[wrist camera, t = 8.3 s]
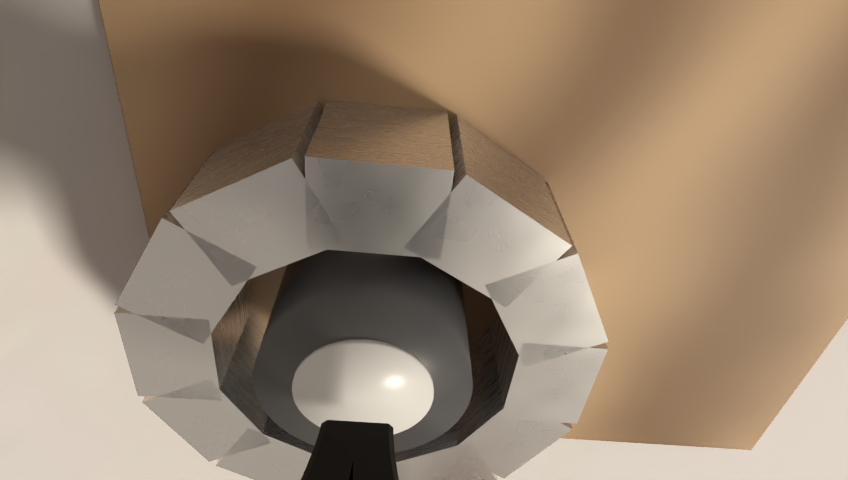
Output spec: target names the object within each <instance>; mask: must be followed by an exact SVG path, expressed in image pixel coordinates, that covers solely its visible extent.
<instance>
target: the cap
mask: <svg viewBox="0 0 848 480" xmlns="http://www.w3.org/2000/svg"><path fill="white" fill-rule="evenodd" d="M253 386H254V391H255V394H256V397H257V399H258V401H259V403H260V405H261V407H262V408H263V410H264V411H265V412H266V414H267V415H268V416H269V417H270V418H271V419H272V420H273V421H274V422H275V423H276V424H277V425H278V426H279V427H281V428H282V429H283V430H285V431H286V432H288V433H289V434H291V435H293V436H294V437H296V438H298V439H300V440H302V441H304V442H307V443H309V444H311V445H314V446H315V443H316V440H317V437H318V434H319V431H320V427H321V424H322V423H323V422H325V421H326V420H338V421H355V422H371V423H388V424H390V425H391V426H392V427H393V434H394V448H395V452H400V451H405V450H409V449H412V448H415V447H418V446H421V445H423V444H426V443H428V442H430V441H432V440H434V439H436V438H437V437H439V436H441V435H443V434H444V433H445V432H446V431H448V430H449V429H450V428H452V427H453V426H454V425H455V424H456V423H457V422H458V421H459V419H460V418H461V417H462V415H463V414H464V413H465V411H466V409H467V407H468V405H469V402H470V399H471V396H472V389H473V380H472V370H471V361H470V352H469V343H468V334H467V325H466V316H465V308H464V299H463V290H462V281H460V280H458V279H457V278H455V277H453V276H452V275H450V274H448V273H446V272H445V271H443V270H441V269H440V268H438V267H436V266H435V265H433V264H431V263H429V262H428V261H426V260H424V259H423V258H421V257H411V256H399V255H387V254H375V253H363V252H351V251H339V250H324V251H322V252H319V253H317V254H314V255H311V256H309V257H306V258H304V259H301V260H298V261H296V262H293V263H291V264H288V265H287V266H286V269H285V272H284V275H283V278H282V281H281V285H280V288H279V291H278V294H277V297H276V300H275V303H274V306H273V309H272V312H271V315H270V318H269V321H268V324H267V327H266V330H265V333H264V336H263V339H262V342H261V345H260V348H259V351H258V354H257V357H256V360H255V363H254V369H253Z"/></svg>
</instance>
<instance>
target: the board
mask: <svg viewBox="0 0 848 480" xmlns="http://www.w3.org/2000/svg"><path fill="white" fill-rule="evenodd" d="M99 5H100V9H101V14H102V19H103V23H104V28H105V33H106V37H107V42H108V47H109V51H110V56H111V61H112V66H113V70H114V75H115V80H116V84H117V89H118V94H119V98H120V103H121V108H122V112H123V117H124V122H125V126H126V131H127V136H128V140H129V145H130V150H131V154H132V159H133V164H134V168H135V173H136V178H137V182H138V187H139V192H140V196H141V201H142V206H143V210H144V215H145V220H146V224H147V229H148V234H149V238H150V239H151V237H152V235H153V233H154V232H155V230H156V228H157V226H158V224H159V222H160V220H161V218H162V217H163V216H164V214H165V213H166V212H167V210H168V209H169V208H170V206H171V205H172V204H173V203H174V201H175V200H176V199H177V197H178V196H179V195H180V193H181V192H182V191H183V189H184V188H185V187H186V185H187V184H188V183H189V181H190V180H191V179H192V178H193V176H194V175H195V174H196V172H197V171H198V170H199V168H200V167H201V166H202V164H203V163H204V162H205V160H206V159H207V158H208V156H209V155H210V154H211V153H212V152H213V153H214V151H215V150H216V149H217V147H218V146H219V145H222V144H224V143H226V142H228V141H230V140H233V139H235V138H237V137H239V136H241V135H244V134H246V133H248V132H250V131H252V130H255V129H257V128H259V127H261V126H263V125H266V124H268V123H270V122H272V121H274V120H277V119H279V118H281V117H283V116H285V115H288V114H290V113H292V112H294V111H296V110H299V109H301V108H303V107H305V106H307V105H310V104H312V103H314V102H316V101H318V102H319V103H320V105H321V107H322V109H323V110H324V108H325V106H326V104H327V101H328V99H333V100H343V101H353V102H362V103H372V104H382V105H392V106H402V107H412V108H421V109H431V110H441V111H447V113H448V121H449V124H450V123H451V122H452V120H453V119H454V118H455V117H456V115H458V116H459V117H461V118H462V119H464V120H465V121H466V122H468V123H469V124H471V125H472V126H473V127H475V128H476V129H478V130H479V131H480V132H482V133H483V134H484V135H486V136H487V137H489V138H490V139H491V140H493V141H494V142H496V143H497V144H498V145H500V146H501V147H503V148H504V149H505V150H507V151H508V152H510V153H511V154H512V155H514V156H515V157H517V158H518V159H519V160H521V161H522V162H524V163H525V164H526V165H528V166H529V167H531V168H532V169H533V170H535V171H536V172H537V173H539V174H540V175H542V176H543V177H544V180H545V182H546V184H549V186H550V188H551V191H552V193H553V195H554V198H555V200H556V203H557V205H558V207H559V210H560V212H561V214H562V217H563V219H564V221H565V224H566V226H567V229H568V231H569V233H570V236H571V238H572V240H573V243H574V245H575V247H576V250H577V252H578V255H579V258H580V260H581V263H582V266H583V269H584V272H585V275H586V278H587V281H588V284H589V287H590V289H591V292H592V295H593V298H594V301H595V304H596V307H597V310H598V313H599V316H600V318H601V321H602V324H603V327H604V330H605V333H606V336H607V339H608V342H606V345H607V348H608V351H607V353H606V355H605V358H604V360H603V363H602V365H601V367H600V370H599V372H598V375H597V377H596V379H595V382H594V384H593V386H592V389H591V391H590V394H589V396H588V398H587V401H586V403H585V406H584V408H583V410H582V413H581V415H580V418H579V420H578V422H577V424H574V423H571V426H572V430H570V431H569V432H568V433H566V434H565V435H563V436H562V437H561V438H567V439H584V440H600V441H616V442H632V443H648V444H664V445H680V446H696V447H713V448H729V449H745V450H751V449H752V448H753V447H754V445H755V444H756V443H757V441H758V440H759V439H760V437H761V436H762V434H763V433H764V432H765V430H766V429H767V428H768V426H769V425H770V424H771V422H772V421H773V419H774V418H775V417H776V415H777V414H778V413H779V411H780V410H781V409H782V407H783V406H784V404H785V403H786V402H787V400H788V399H789V398H790V396H791V395H792V394H793V392H794V391H795V389H796V388H797V387H798V385H799V384H800V383H801V381H802V380H803V379H804V377H805V376H806V375H807V373H808V372H809V370H810V369H811V368H812V366H813V365H814V364H815V362H816V361H817V360H818V358H819V357H820V355H821V354H822V353H823V351H824V350H825V349H826V347H827V346H828V345H829V343H830V342H831V340H832V339H833V338H834V336H835V335H836V334H837V332H838V331H839V330H840V328H841V327H842V325H843V324H844V323H845V321H846V320H847V319H848V0H99ZM286 266H287V265H285V266H283V267H280V268H277V269H275V270H272V271H270V272H267V273H264V274H262V275H259V276H257V277H254V278H251V279H249V284H250V295H251V305H252V309H253V310H254V311H255V312H256V314H257V315H258V316H259V317H260V318H261V320H262V321H263V322H264V323H265V324H266V326H267V324H268V321H269V318H270V315H271V312H272V309H273V306H274V303H275V300H276V297H277V294H278V291H279V288H280V285H281V281H282V278H283V275H284V272H285V269H286ZM462 290H463V299H464V308H465V316H466V325H467V334H468V343H469V345H470V344H471V343H472V342H474V341H475V340H476V339H477V338H478V337H479V336H480V335H481V334H482V333H483V332H484V331H485V330H486V329H487V328H489V327H490V326H491V322H492V317H493V313H494V309H495V305H494V303H493V301H492V299H491V298H489V297H487V296H486V295H484V294H482V293H481V292H479V291H477V290H475V289H474V288H472V287H470V286H469V285H467V284H465V283H463V282H462Z"/></svg>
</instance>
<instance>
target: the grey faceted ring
mask: <svg viewBox="0 0 848 480" xmlns="http://www.w3.org/2000/svg"><path fill="white" fill-rule="evenodd" d="M324 250H339V251H351V252H363V253H375V254H387V255H399V256H411V257H421V258H423V259H424V260H426V261H428V262H429V263H431V264H433V265H435V266H436V267H438V268H440V269H441V270H443V271H445V272H446V273H448V274H450V275H452V276H453V277H455V278H457V279H458V280H460V281H462V282H463V283H465V284H467V285H469V286H470V287H472V288H474V289H475V290H477V291H479V292H481V293H482V294H484V295H486V296H487V297H489V298H491V299H492V301H493V303H494V305H495V309H494V313H493V317H492V322H491V326H490V327H489V328H487V329H486V330H485V331H484V332H483V333H482V334H481V335H480V336H479V337H478V338H477V339H476V340H475V341H474V342H472V343H471V344H470V345H469V352H470V361H471V370H472V380H473V389H472V396H471V399H470V402H469V405H468V407H467V409H466V411H465V413H464V414H463V415H462V417H461V418H460V419H459V421H458V422H457V423H456V424H455V425H454V426H453V427H452V428H450V429H449V430H448V431H446V432H445V433H444V434H443V435H441V436H439V437H437V438H436V439H434V440H432V441H430V442H428V443H426V444H423V445H421V446H418V447H415V448H412V449H409V450H405V451H400V452H395V458H396V465H397V471H398V477H399V480H497V476H496V475H498V476H500V477H503V478H505V477H506V476H508V475H509V474H511V473H512V472H513V471H515V470H516V469H518V468H519V467H520V466H522V465H523V464H525V463H526V462H527V461H529V460H530V459H531V458H533V457H534V456H536V455H537V454H538V453H540V452H541V451H543V450H544V449H545V448H547V447H548V446H550V445H551V444H552V443H554V442H555V441H556V440H558V439H559V438H561V437H562V436H563V435H565V434H566V433H568V432H569V431H570V430H572V426H571V423H574V424H577V422H578V420H579V418H580V415H581V413H582V410H583V408H584V406H585V403H586V401H587V398H588V396H589V394H590V391H591V389H592V386H593V384H594V382H595V379H596V377H597V375H598V372H599V370H600V367H601V365H602V363H603V360H604V358H605V355H606V353H607V351H608V348H607V345H606V342H608V339H607V336H606V333H605V330H604V327H603V324H602V321H601V318H600V316H599V313H598V310H597V307H596V304H595V301H594V298H593V295H592V292H591V289H590V287H589V284H588V281H587V278H586V275H585V272H584V269H583V266H582V263H581V260H580V258H579V255H578V252H577V250H576V247H575V245H574V243H573V240H572V238H571V236H570V233H569V231H568V229H567V226H566V224H565V221H564V219H563V217H562V214H561V212H560V210H559V207H558V205H557V203H556V200H555V198H554V195H553V193H552V191H551V188H550V186H549V184H546V182H545V180H544V177H543V176H542V175H540V174H539V173H537V172H536V171H535V170H533V169H532V168H531V167H529V166H528V165H526V164H525V163H524V162H522V161H521V160H519V159H518V158H517V157H515V156H514V155H512V154H511V153H510V152H508V151H507V150H505V149H504V148H503V147H501V146H500V145H498V144H497V143H496V142H494V141H493V140H491V139H490V138H489V137H487V136H486V135H484V134H483V133H482V132H480V131H479V130H478V129H476V128H475V127H473V126H472V125H471V124H469V123H468V122H466V121H465V120H464V119H462V118H461V117H459V116H458V115H456V117H455V118H454V119H453V120H452V122H451V123H450V124H449V121H448V113H447V111H441V110H431V109H421V108H412V107H402V106H392V105H382V104H372V103H362V102H353V101H343V100H333V99H328V101H327V104H326V106H325V108H324V110H323V109H322V107H321V105H320V103H319V102H318V101H316V102H314V103H312V104H310V105H307V106H305V107H303V108H301V109H299V110H296V111H294V112H292V113H290V114H288V115H285V116H283V117H281V118H279V119H277V120H274V121H272V122H270V123H268V124H266V125H263V126H261V127H259V128H257V129H255V130H252V131H250V132H248V133H246V134H244V135H241V136H239V137H237V138H235V139H233V140H230V141H228V142H226V143H224V144H222V145H219V146H218V147H217V149H216V150H215V151H214V153H213V152H212V153H211V154H210V155H209V156H208V158H207V159H206V160H205V162H204V163H203V164H202V166H201V167H200V168H199V170H198V171H197V172H196V174H195V175H194V176H193V178H192V179H191V180H190V181H189V183H188V184H187V185H186V187H185V188H184V189H183V191H182V192H181V193H180V195H179V196H178V197H177V199H176V200H175V201H174V203H173V204H172V205H171V206H170V208H169V209H168V210H167V212H166V213H165V214H164V216H163V217H162V218H161V220H160V222H159V224H158V226H157V228H156V230H155V232H154V233H153V235H152V237H151V239H150V241H149V243H148V245H147V246H146V248H145V250H144V252H143V254H142V256H141V258H140V259H139V261H138V263H137V265H136V267H135V269H134V271H133V272H132V274H131V276H130V278H129V280H128V282H127V284H126V286H125V287H124V289H123V291H122V293H121V295H120V297H119V299H118V300H117V302H116V304H115V305H116V306H119V307H118V308H117V310H116V311H115V317H116V320H117V324H118V327H119V331H120V334H121V338H122V341H123V345H124V348H125V352H126V355H127V359H128V362H129V366H130V369H131V373H132V376H133V380H134V383H135V387H136V390H137V394H138V396H145V398H144V400H143V403H144V404H145V405H146V406H147V407H149V408H150V409H151V410H152V411H153V412H154V413H155V414H156V415H157V416H159V417H160V418H161V419H162V420H163V421H164V422H165V423H166V424H168V425H169V426H170V427H171V428H172V429H173V430H174V431H175V432H177V433H178V434H179V435H180V436H181V437H182V438H183V439H184V440H186V441H187V442H188V443H189V444H190V445H191V446H192V447H193V448H194V449H196V450H197V451H198V452H199V453H200V454H201V455H202V456H203V457H205V458H206V459H207V460H208V461H212V460H216V459H218V461H217V464H216V466H219V467H221V468H224V469H227V470H230V471H232V472H235V473H238V474H240V475H243V476H246V477H249V478H251V479H254V480H301V478H302V476H303V474H304V471H305V469H306V467H307V464H308V462H309V459H310V457H311V454H312V451H313V449H314V445H311V444H309V443H307V442H304V441H302V440H300V439H298V438H296V437H294V436H293V435H291V434H289V433H288V432H286V431H285V430H283V429H282V428H281V427H279V426H278V425H277V424H276V423H275V422H274V421H273V420H272V419H271V418H270V417H269V416H268V415H267V414H266V412H265V411H264V410H263V408H262V407H261V405H260V403H259V401H258V399H257V397H256V394H255V391H254V386H253V369H254V363H255V360H256V357H257V354H258V351H259V348H260V345H261V342H262V339H263V336H264V333H265V330H266V327H267V326H266V324H265V323H264V322H263V321H262V320H261V318H260V317H259V316H258V315H257V314H256V312H255V311H254V310H253V309H252V305H251V295H250V284H249V279H251V278H254V277H257V276H259V275H262V274H264V273H267V272H270V271H272V270H275V269H277V268H280V267H283V266H285V265H288V264H291V263H293V262H296V261H298V260H301V259H304V258H306V257H309V256H311V255H314V254H317V253H319V252H322V251H324Z"/></svg>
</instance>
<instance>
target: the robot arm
mask: <svg viewBox="0 0 848 480" xmlns="http://www.w3.org/2000/svg"><path fill="white" fill-rule="evenodd" d="M301 480H399V477H398V471H397V465H396V458H395V448H394V434H393V427H392V426H391V425H390V424H388V423H371V422H355V421H338V420H326V421H325V422H323V423H322V424H321V427H320V431H319V434H318V437H317V440H316V443H315V446H314V449H313V451H312V454H311V457H310V459H309V462H308V464H307V467H306V469H305V471H304V474H303V476H302V478H301Z"/></svg>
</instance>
